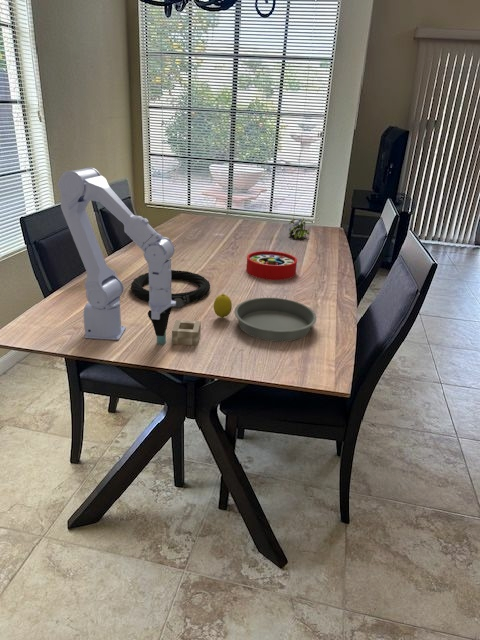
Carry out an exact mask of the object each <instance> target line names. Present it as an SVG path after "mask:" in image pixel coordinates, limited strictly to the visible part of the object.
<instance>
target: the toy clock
mask: <svg viewBox="0 0 480 640" xmlns="http://www.w3.org/2000/svg"><path fill="white" fill-rule="evenodd" d="M297 263H298V259H297V258H296V257H295V256H294V255H292V254H289V253H286V252H281V251H275V250H273V251H272V250H271V251H270V250H260V251H253V252H251V253H249V254H247V256H246V270H245V271H246V273H247V274H249V275H250V276H252V277H255V278H257V279H258V278H259V279H263V280H269V281H271V280H272V281H283V280H288V279H291V278H294V277H295V276H296V273H297Z"/></svg>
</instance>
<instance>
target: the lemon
mask: <svg viewBox="0 0 480 640" xmlns="http://www.w3.org/2000/svg"><path fill="white" fill-rule="evenodd" d="M232 307H233V304H232V300H231V298H230V297H229V296H228V295H227V294H225V293H221V294H219V295H217V296H216V297H215V299H214V302H213V311H214V313H215V314H216V316H218V317H220V319H224V318H225V317H228V316H229V315H230V314H231V312H232V309H233V308H232Z"/></svg>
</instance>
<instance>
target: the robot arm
mask: <svg viewBox="0 0 480 640" xmlns="http://www.w3.org/2000/svg"><path fill="white" fill-rule="evenodd" d="M56 184H57V187H58V190H59V193H60V208H61V209H60V210H61V211H62V214H63V218H64V219H65V222H66V224H67V226H68V229H69V231H70V234H71V237H72V240H73V242H74V244H75V247H76V249H77V251H78V255H79V256H80V259H81V261H82V263H83V266H84V269H85V271H86V277H85V281H84V287H85V289H86V293H85V295H86V300H87V301H88V302H87V303H85V306H84V309H83V324H84V334H85V335H84V338H85V339H93V340H96V339H97V340H110V341H111V340H114V341H118V340H120V339H121V337H122V335H123V334H124V332H125V331H126V329H127V327H126V326H125V325H122V316H121V315H122V314H121V296H122V295H123V293H124V288H125V287H124V283H123V282H122V281H121V279H120V278H119V277H118V275H117V274H116V271H115V270H114V269H112V268H110V267H109V266H108V265H107V262H106V259H105V257H104V256H105V255H104V254H103V252H102V249H101V247H100V244H99V241H98V238H97V236H96V233H95V231H94V228H93V226H92V222H91V220H90V218H89V215H88V213H87V206H88V205H89V202H90V201H91V202H98V203H100V204H101V205H102V206H104V208H105V209H106V210H108V212H109V213H111V214H112V215H113V216H114V217H115V218H116V219H117V220H118V221H119V222H120V223H122V224H123V231H124V233H125V234H126V235H127V236H128V237H129V238H130V239H131V240H132V241H133V242H134V243H135V245H136V246H138V248H140V250H141V251H142V252H143V258H144V260H145V261H146V263H147V265H148V273H149V282H148V291H149V301H148V306H149V310H148V312H147V317H148V318H149V319H150V321H151V323H152V326H153V329H154V332H155V336H156V337H157V336H164V334H165V329H166V330H167V329H168V323H169V318H170V315H171V312H172V310H173V308H174V307H173V306H175V305H176V301H172V298H171V294H172V279H171V270H172V258H173V255H174V253H175V246H174V245H175V244H173V242H172V241H171V239H170V238H169V237H166V236H163V235H162V234H161V233H158V232H157V231H156V230H155V229H154V228H153V226H151V225H150V223H149V222H150V221H149V220H148V218H146V217H143V216H141V215H135V214H134V213H133V212H132V211H131V210H130V209H129V208H128V206H127V205H126V204H125V203H124V201H122V199H121V198H120V196H118V195H117V193H116V192H115V191H114V189H112V188H111V186H110V185H109V183H108V180H107V178H106V177H105V176H103V175H102V174H101V173H100V171H99V170H98V169H96V168H94V167H91V166H88V167H84V168H81V169H75V170H65V172H63V173H62V175H61V176H60V177H59V180H58V182H57V183H56ZM164 311H165V312H164Z"/></svg>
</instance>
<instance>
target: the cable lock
mask: <svg viewBox="0 0 480 640" xmlns="http://www.w3.org/2000/svg"><path fill="white" fill-rule="evenodd" d="M171 280H175V281H179V280H180V281H184V282H191V283H193V284H195V285H197V286H199V287H198V288H197V289H194V290H191V291H187V292H186V291H185V292H179V293H171V298H172V301H176V305H175V306H173V308H174V309H180V308H182V307H183V306H184V305H188V304H189V303H193V302H195V301H199V300H202V299H203V298H204V297H206V296H207V295H208V293H209V292H210V291H211V283H210V281H209V280H207V278H205V276H203V275H200V274H198V273H194V272H191V271H185V270H173V269H171ZM146 284H149V272H145V273H143V274H141V275H139V276H137V277H135V278H134V279H133V281H132V282H131V283H130V289H131V292H132V293H133V294H134V295H135V297H137V298H138V299H141V300H142V301H145V302H149V289H146V288H143V286H144V285H146Z"/></svg>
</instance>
